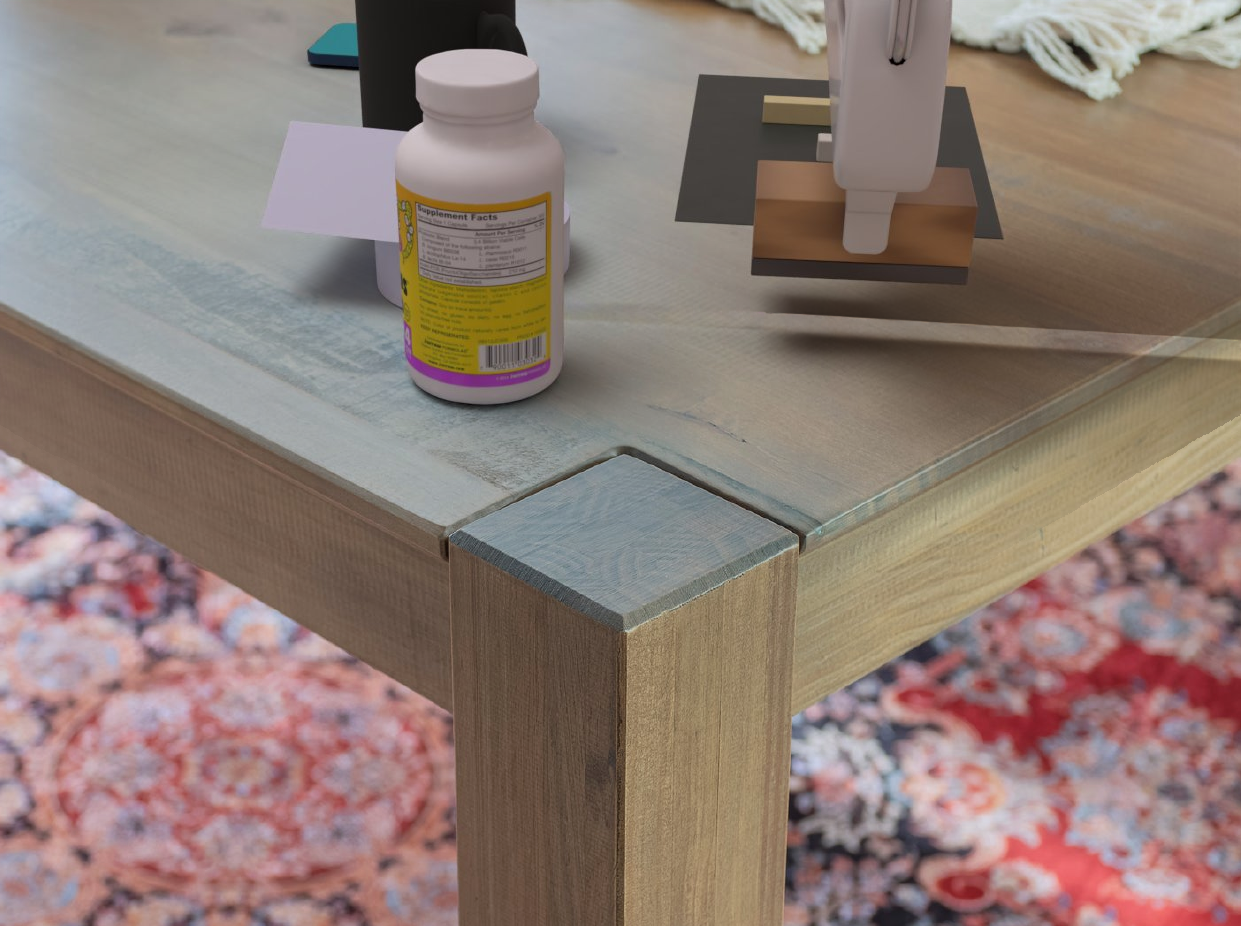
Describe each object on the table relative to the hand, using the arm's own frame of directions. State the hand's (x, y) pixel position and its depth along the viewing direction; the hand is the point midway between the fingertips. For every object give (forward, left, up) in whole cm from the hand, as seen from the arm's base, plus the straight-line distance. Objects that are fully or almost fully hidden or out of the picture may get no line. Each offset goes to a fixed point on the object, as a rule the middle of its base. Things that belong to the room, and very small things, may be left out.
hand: (861, 220), depth 71 cm
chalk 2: (-1, -20, -4) cm, 21 cm away
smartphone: (+25, -38, -5) cm, 46 cm away
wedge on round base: (+19, -4, -6) cm, 21 cm away
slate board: (0, -22, -5) cm, 23 cm away
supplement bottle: (+15, +6, -6) cm, 17 cm away
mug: (+20, -18, -6) cm, 28 cm away
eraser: (0, 0, -2) cm, 2 cm away
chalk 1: (+2, -26, -4) cm, 27 cm away
